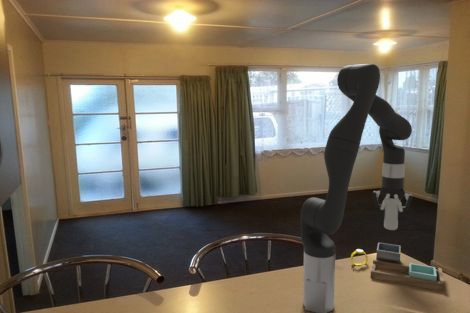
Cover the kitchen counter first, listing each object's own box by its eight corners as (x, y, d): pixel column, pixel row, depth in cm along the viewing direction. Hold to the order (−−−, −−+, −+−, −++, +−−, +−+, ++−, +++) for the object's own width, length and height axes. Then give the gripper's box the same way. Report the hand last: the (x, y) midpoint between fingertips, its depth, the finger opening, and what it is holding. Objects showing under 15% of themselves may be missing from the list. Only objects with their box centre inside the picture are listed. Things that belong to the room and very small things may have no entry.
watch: (365, 264, 135) (367, 249, 134) (367, 267, 132) (369, 252, 131) (349, 262, 135) (351, 248, 134) (351, 266, 133) (353, 251, 132)
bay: (443, 292, 113) (444, 281, 113) (370, 279, 123) (370, 268, 122) (440, 278, 122) (441, 268, 121) (372, 267, 132) (373, 257, 131)
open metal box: (399, 270, 129) (400, 253, 128) (376, 266, 132) (376, 250, 131) (399, 261, 136) (400, 245, 135) (377, 258, 139) (378, 242, 138)
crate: (435, 287, 115) (436, 276, 115) (408, 282, 119) (409, 271, 118) (434, 278, 121) (435, 267, 121) (408, 273, 125) (409, 263, 124)
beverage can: (395, 225, 134) (396, 195, 132) (399, 230, 129) (401, 198, 127) (382, 225, 134) (383, 195, 132) (386, 230, 129) (387, 198, 127)
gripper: (371, 175, 128) (369, 220, 131) (415, 178, 122) (412, 225, 124) (373, 171, 135) (371, 214, 137) (414, 174, 128) (412, 218, 131)
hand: (391, 219), depth 131 cm, fingers closed on beverage can, 4 cm apart
